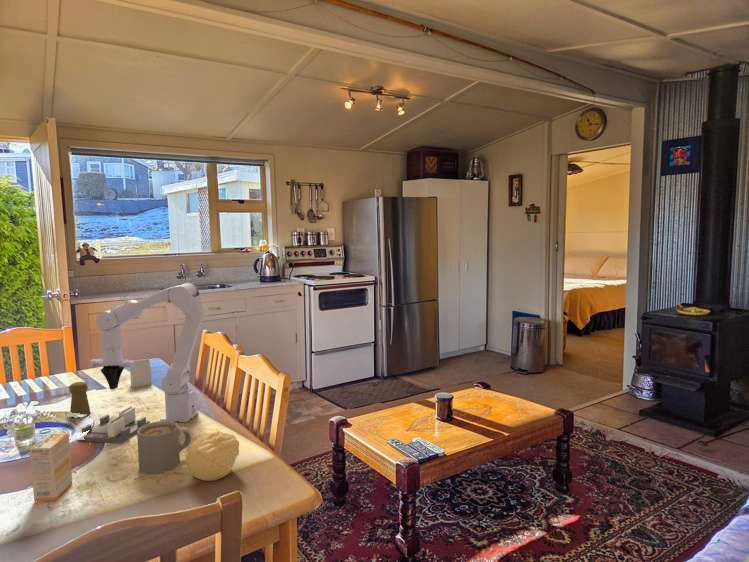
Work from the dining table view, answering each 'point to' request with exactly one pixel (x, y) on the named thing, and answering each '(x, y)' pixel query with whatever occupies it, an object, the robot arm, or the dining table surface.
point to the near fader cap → (115, 426)
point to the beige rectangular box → (141, 373)
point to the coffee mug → (160, 446)
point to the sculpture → (212, 455)
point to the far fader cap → (128, 415)
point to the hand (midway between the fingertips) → (113, 388)
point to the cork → (79, 398)
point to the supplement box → (51, 467)
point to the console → (101, 431)
